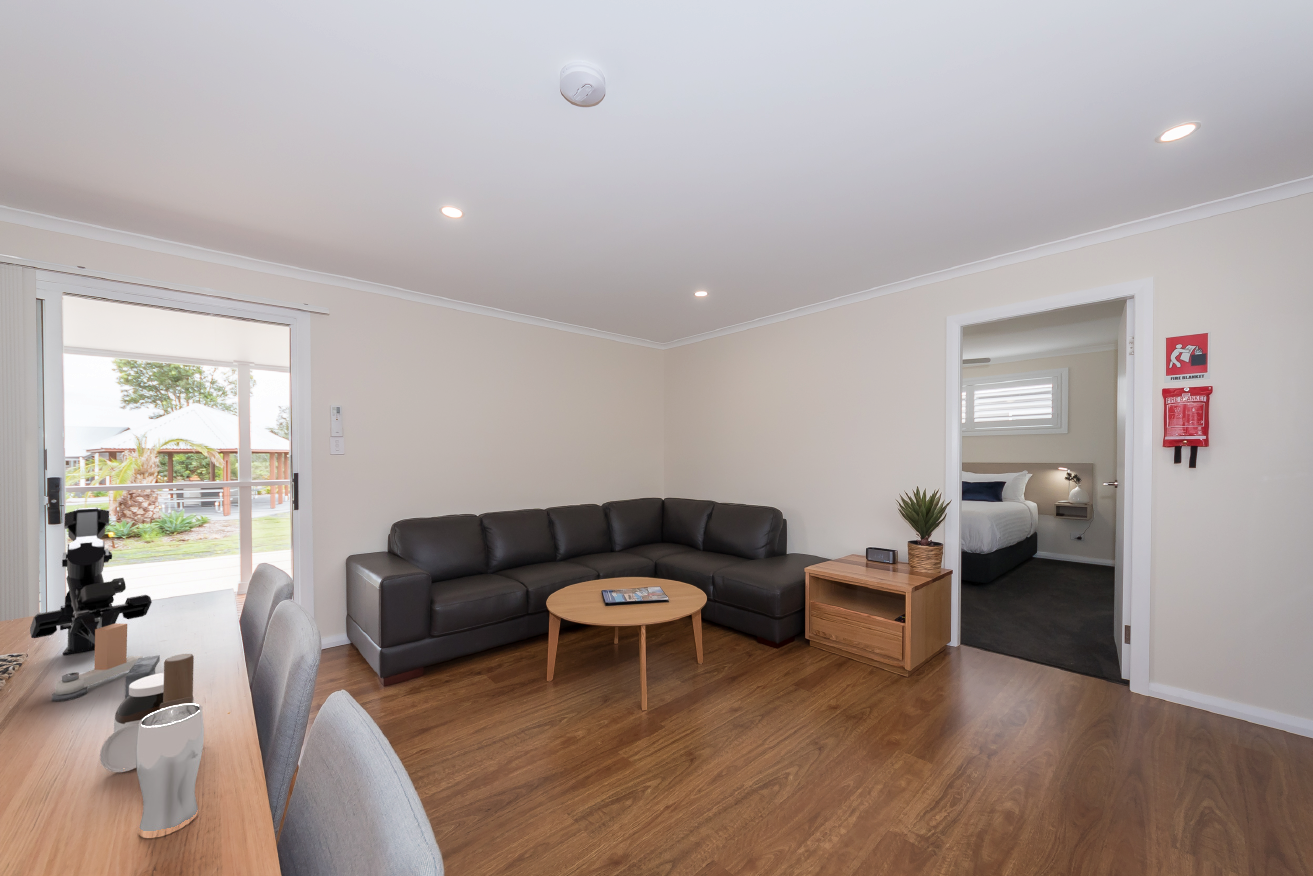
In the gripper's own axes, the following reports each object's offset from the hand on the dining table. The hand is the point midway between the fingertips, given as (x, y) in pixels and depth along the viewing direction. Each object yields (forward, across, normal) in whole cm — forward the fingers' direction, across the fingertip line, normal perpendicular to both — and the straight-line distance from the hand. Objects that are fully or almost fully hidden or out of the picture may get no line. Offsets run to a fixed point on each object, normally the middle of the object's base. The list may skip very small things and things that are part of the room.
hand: (101, 645), depth 119 cm
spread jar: (+40, -5, -29) cm, 49 cm away
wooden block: (+49, -6, -38) cm, 62 cm away
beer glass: (+57, -10, -46) cm, 74 cm away
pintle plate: (+10, -6, 0) cm, 12 cm away
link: (+7, -1, +1) cm, 7 cm away
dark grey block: (+16, +3, -5) cm, 17 cm away
